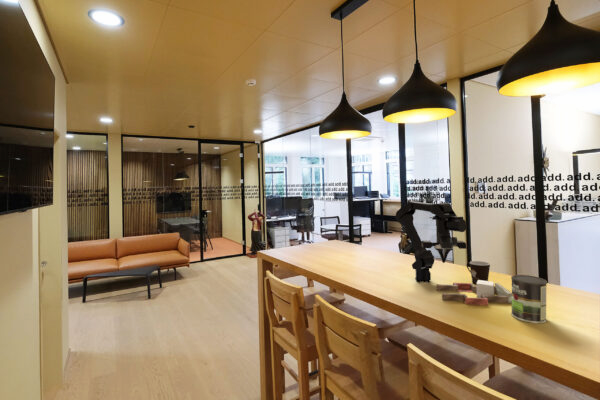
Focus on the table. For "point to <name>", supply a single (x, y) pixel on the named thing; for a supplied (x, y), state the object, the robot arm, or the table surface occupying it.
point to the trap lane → (469, 287)
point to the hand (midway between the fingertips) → (443, 262)
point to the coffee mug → (479, 271)
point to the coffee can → (529, 298)
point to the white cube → (485, 288)
